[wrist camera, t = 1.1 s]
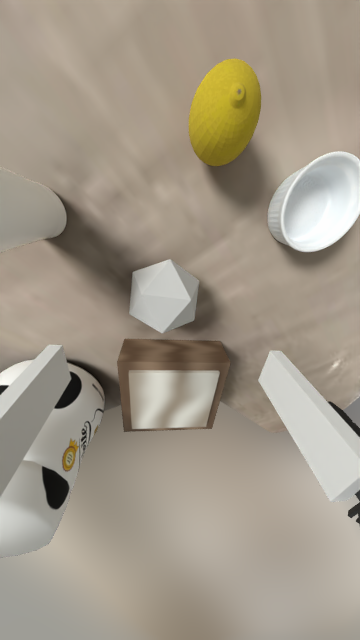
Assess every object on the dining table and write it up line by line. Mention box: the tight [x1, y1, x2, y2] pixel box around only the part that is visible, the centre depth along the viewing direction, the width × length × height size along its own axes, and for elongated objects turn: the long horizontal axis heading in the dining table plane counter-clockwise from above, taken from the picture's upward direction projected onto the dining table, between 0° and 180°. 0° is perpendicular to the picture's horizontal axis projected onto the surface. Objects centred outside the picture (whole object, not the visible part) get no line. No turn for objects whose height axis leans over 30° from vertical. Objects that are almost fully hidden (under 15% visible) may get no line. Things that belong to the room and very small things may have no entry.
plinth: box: [117, 339, 231, 432], centre depth 31 cm, size 16×16×6 cm
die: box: [129, 259, 199, 333], centre depth 22 cm, size 8×9×10 cm
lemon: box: [189, 59, 261, 166], centre depth 15 cm, size 6×6×8 cm
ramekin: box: [267, 152, 360, 252], centre depth 21 cm, size 9×9×4 cm
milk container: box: [0, 359, 105, 558], centre depth 25 cm, size 17×17×18 cm
